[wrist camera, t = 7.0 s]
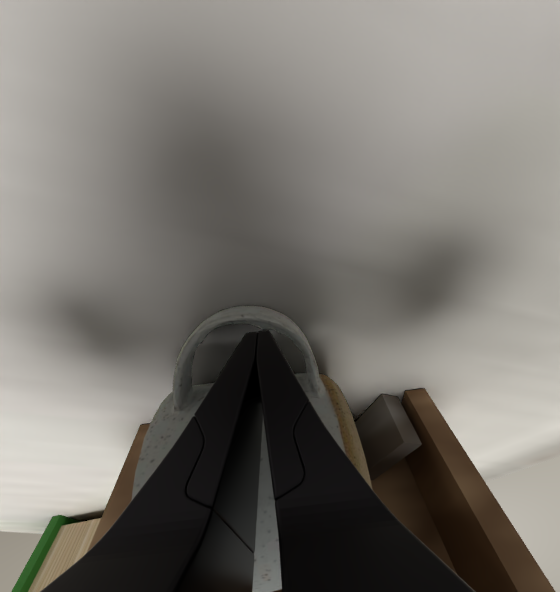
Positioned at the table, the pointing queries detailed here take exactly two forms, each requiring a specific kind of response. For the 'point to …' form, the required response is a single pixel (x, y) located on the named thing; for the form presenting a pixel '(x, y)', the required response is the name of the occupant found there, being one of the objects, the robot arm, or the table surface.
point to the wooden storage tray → (416, 494)
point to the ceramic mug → (320, 394)
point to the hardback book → (56, 552)
